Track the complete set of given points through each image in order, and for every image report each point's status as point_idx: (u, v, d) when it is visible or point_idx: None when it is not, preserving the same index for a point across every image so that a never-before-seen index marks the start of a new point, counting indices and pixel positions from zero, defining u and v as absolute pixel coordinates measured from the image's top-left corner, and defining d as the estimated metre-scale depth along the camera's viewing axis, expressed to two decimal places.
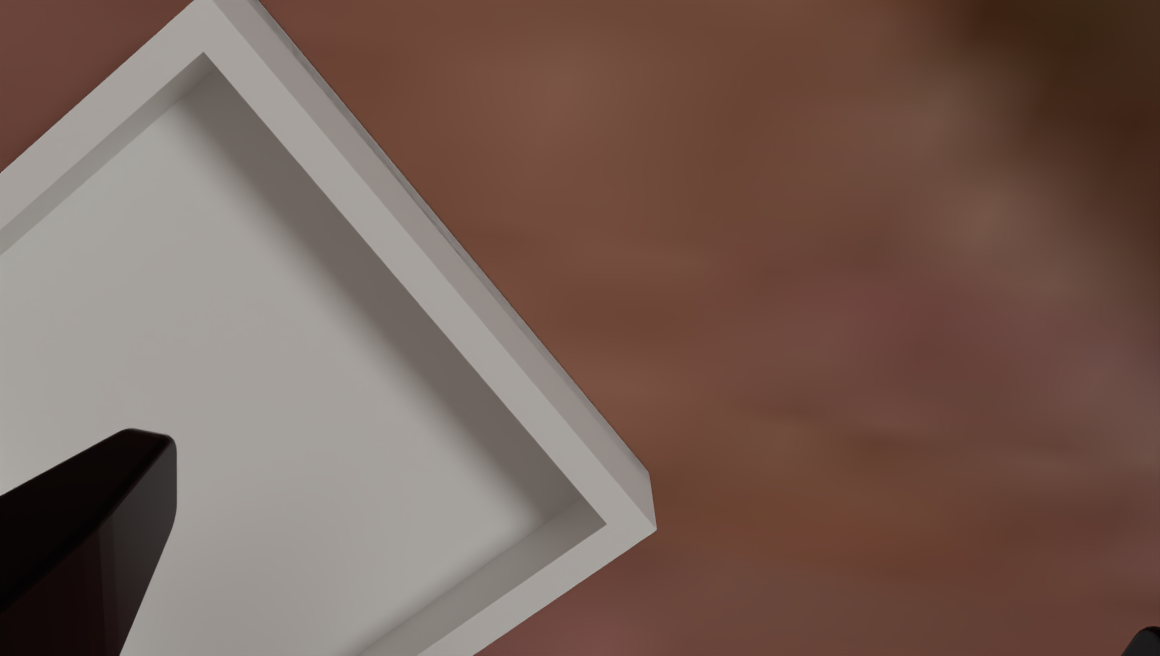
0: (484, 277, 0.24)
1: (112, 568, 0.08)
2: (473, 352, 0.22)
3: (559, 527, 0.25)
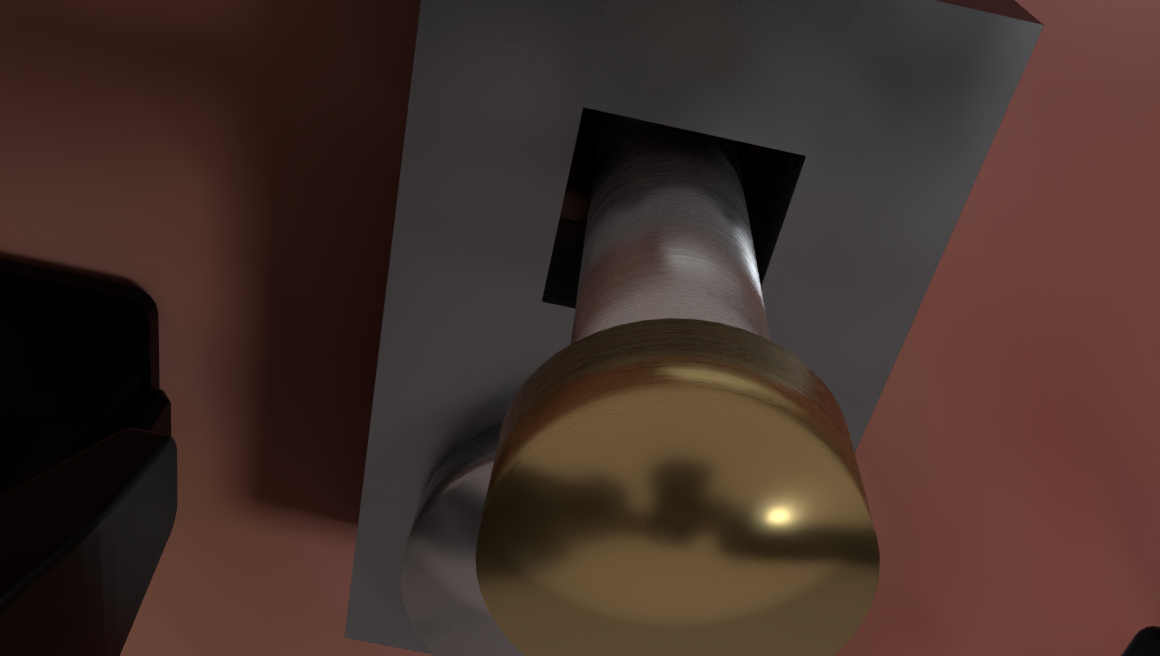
0: None
1: (112, 567, 0.08)
2: None
3: None
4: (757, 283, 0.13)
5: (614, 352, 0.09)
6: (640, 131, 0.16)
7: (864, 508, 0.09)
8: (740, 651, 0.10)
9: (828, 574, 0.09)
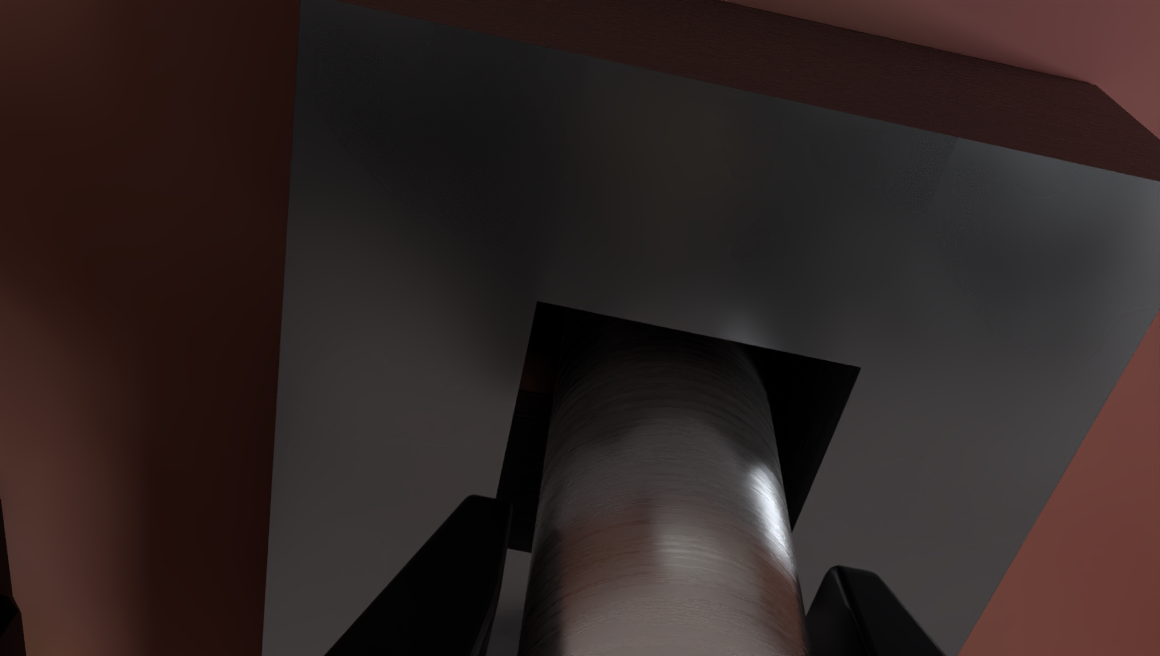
0: None
1: None
2: None
3: None
4: (799, 610, 0.08)
5: None
6: None
7: None
8: None
9: None
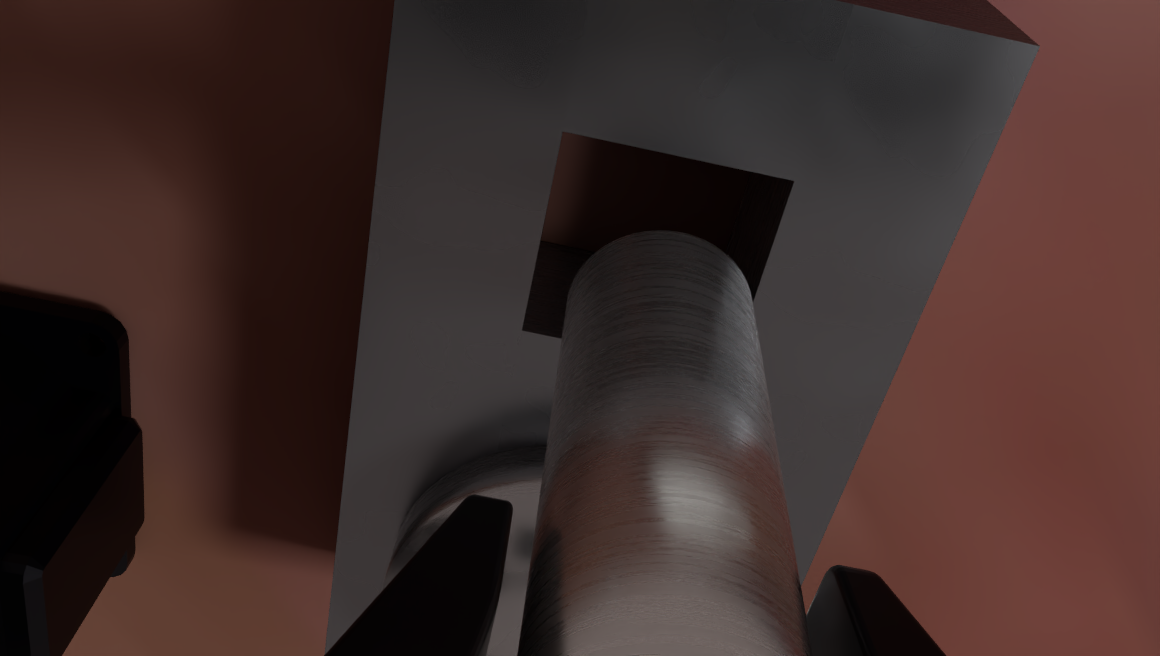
0: None
1: None
2: None
3: None
4: (799, 608, 0.08)
5: None
6: (622, 310, 0.11)
7: None
8: None
9: None
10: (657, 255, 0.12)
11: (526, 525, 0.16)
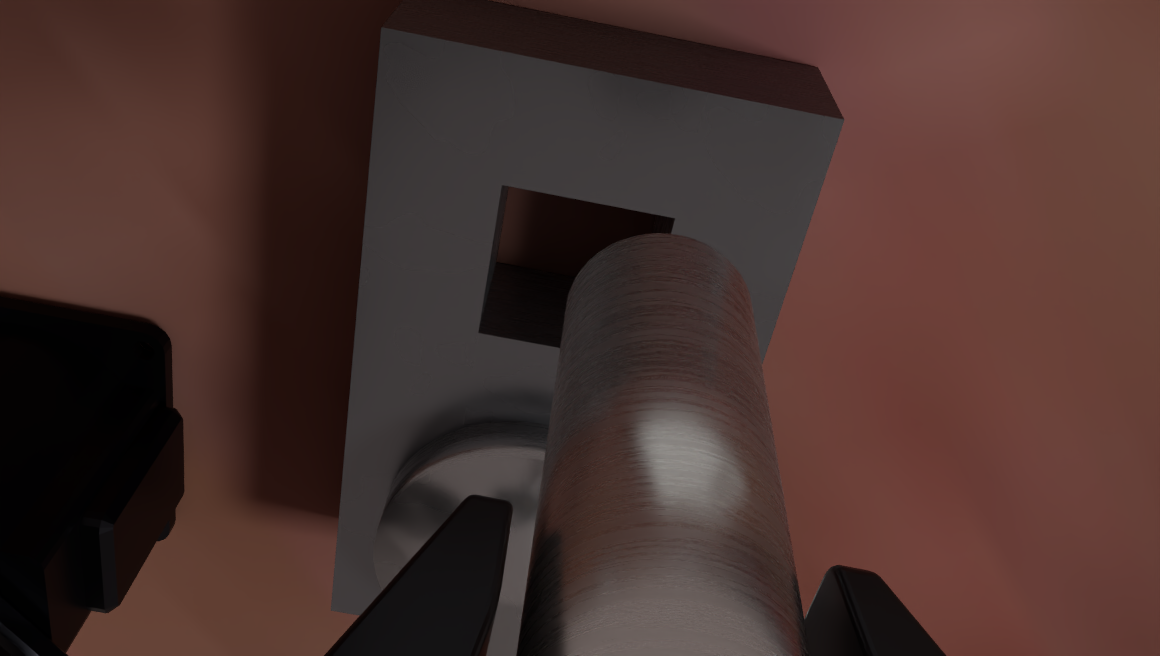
0: None
1: None
2: None
3: None
4: (798, 613, 0.08)
5: None
6: (621, 314, 0.11)
7: None
8: None
9: None
10: (656, 258, 0.12)
11: (485, 482, 0.21)
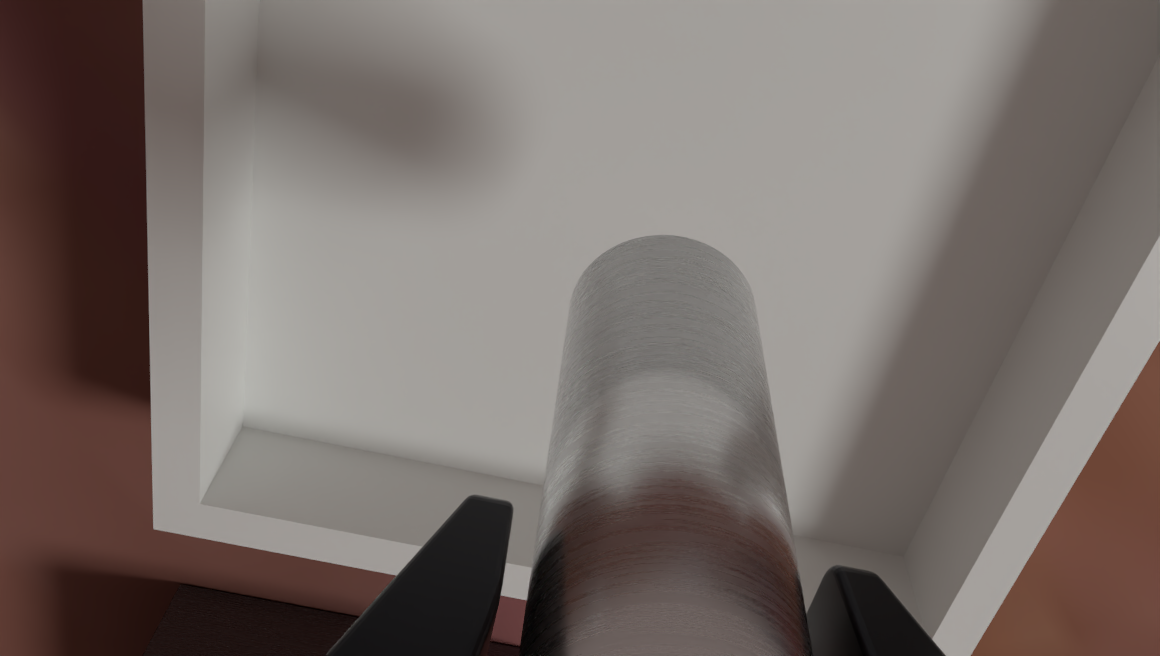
0: None
1: None
2: (1064, 428, 0.16)
3: None
4: (801, 617, 0.08)
5: None
6: (625, 315, 0.11)
7: None
8: None
9: None
10: (660, 260, 0.12)
11: None
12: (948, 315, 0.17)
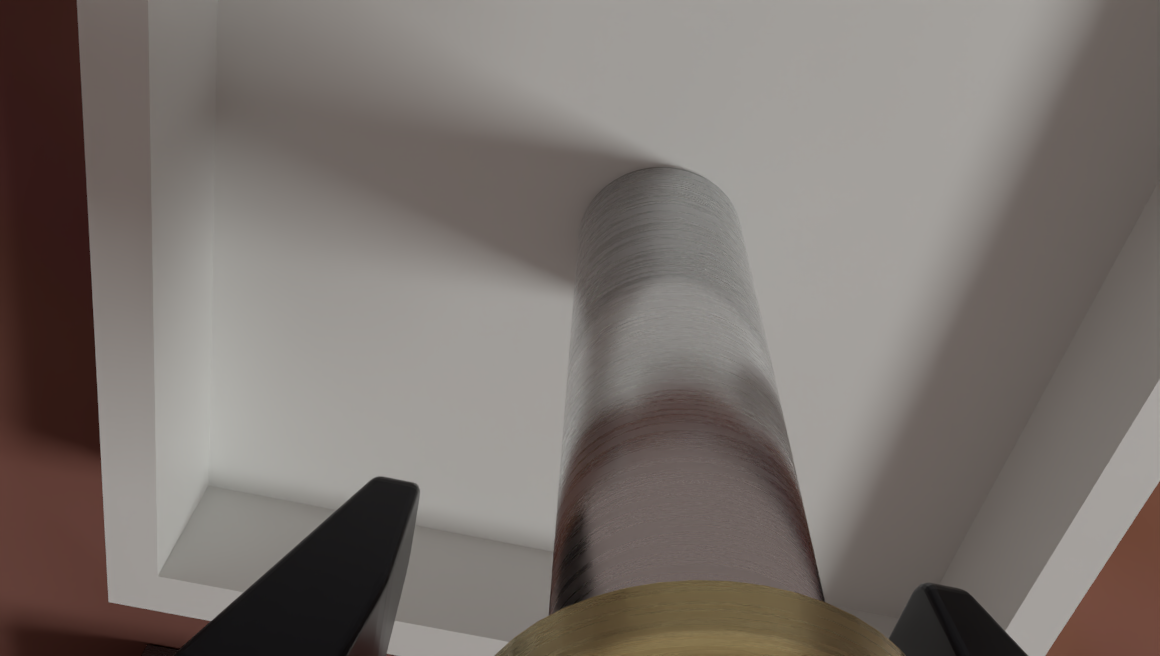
0: None
1: (385, 619, 0.08)
2: (1099, 501, 0.14)
3: None
4: (788, 451, 0.10)
5: (620, 641, 0.07)
6: (632, 229, 0.13)
7: None
8: None
9: None
10: (660, 186, 0.14)
11: None
12: (969, 372, 0.16)
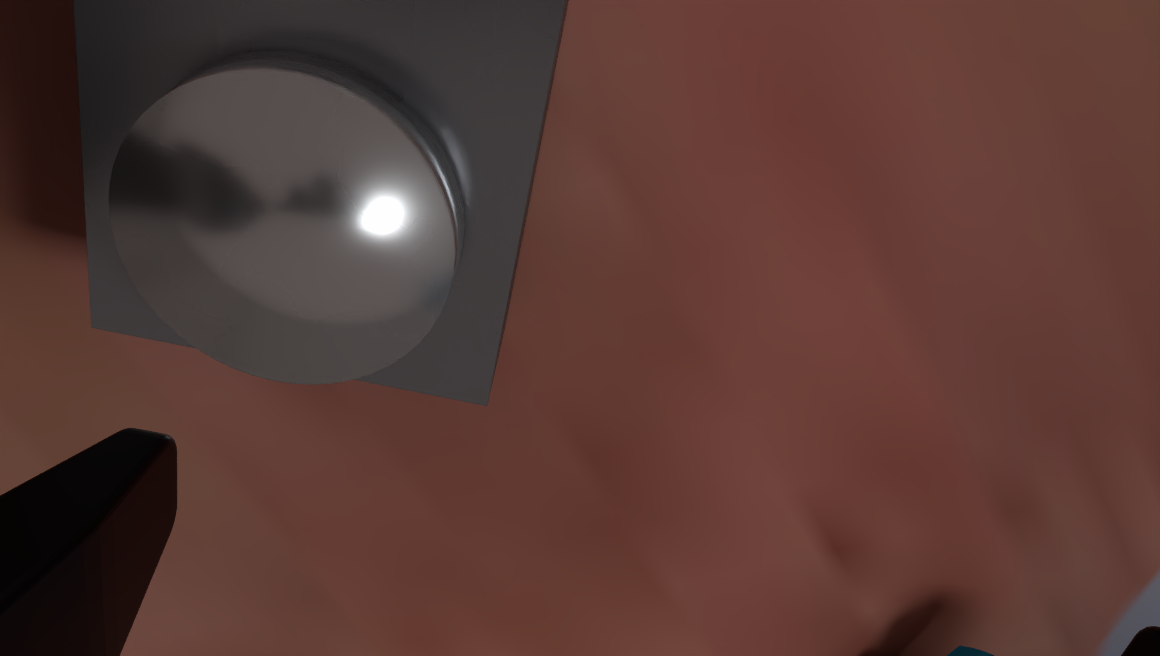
0: None
1: (112, 567, 0.08)
2: None
3: None
4: None
5: None
6: None
7: None
8: None
9: None
10: None
11: (231, 110, 0.17)
12: None
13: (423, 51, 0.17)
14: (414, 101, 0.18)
